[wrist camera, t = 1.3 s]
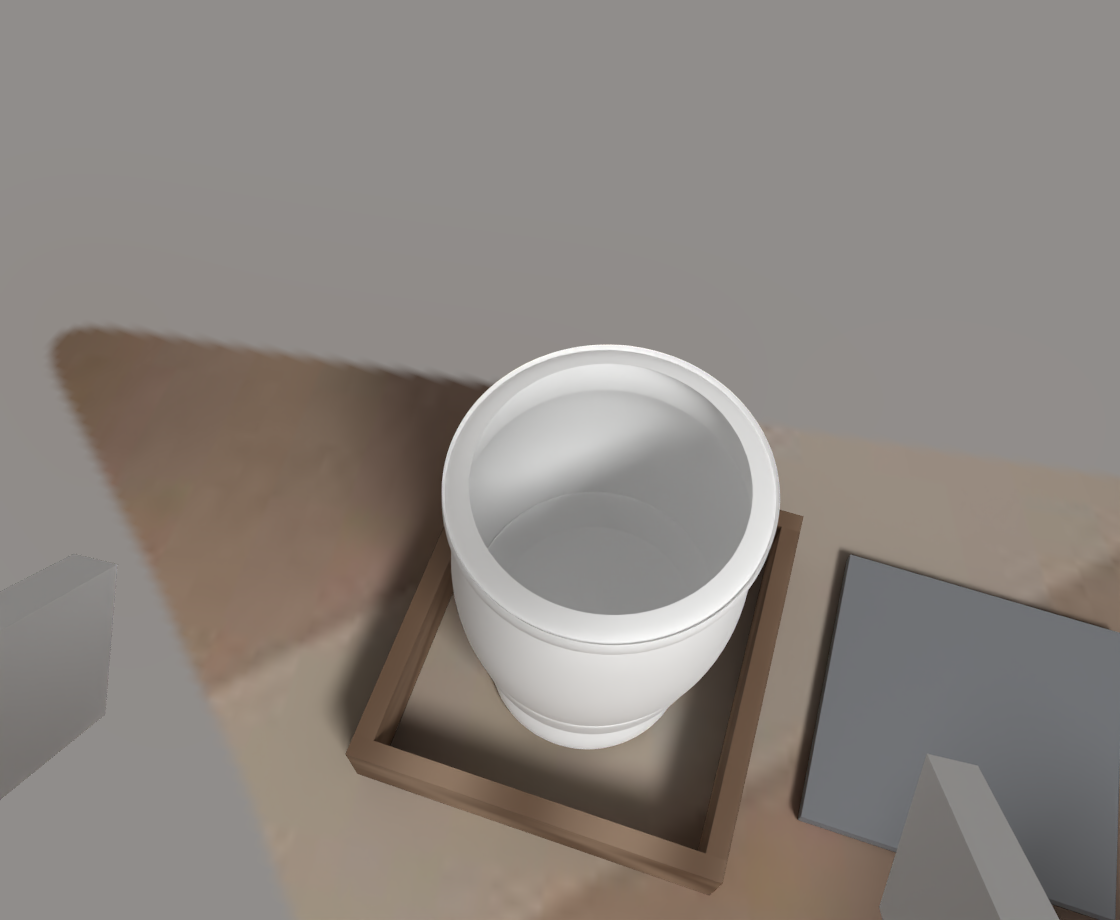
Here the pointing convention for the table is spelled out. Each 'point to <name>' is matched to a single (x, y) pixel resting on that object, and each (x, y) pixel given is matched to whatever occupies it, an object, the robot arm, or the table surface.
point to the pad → (972, 722)
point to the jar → (604, 535)
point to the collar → (550, 817)
